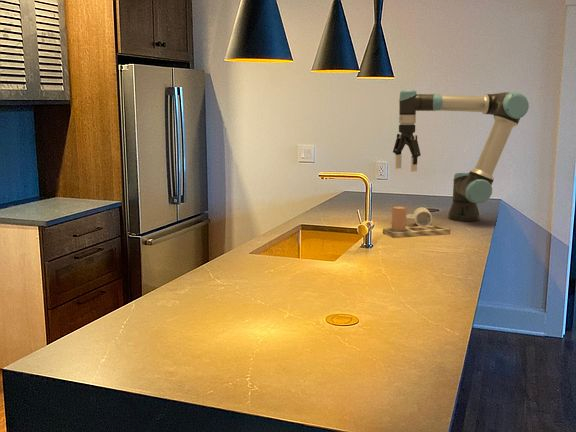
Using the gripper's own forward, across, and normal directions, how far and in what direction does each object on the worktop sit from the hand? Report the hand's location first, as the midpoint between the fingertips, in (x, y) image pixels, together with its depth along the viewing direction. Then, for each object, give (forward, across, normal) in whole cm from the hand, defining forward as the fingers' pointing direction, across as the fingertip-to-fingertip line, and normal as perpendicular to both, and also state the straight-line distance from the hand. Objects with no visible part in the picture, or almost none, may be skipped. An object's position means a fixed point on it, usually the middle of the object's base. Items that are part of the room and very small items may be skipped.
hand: (405, 169), depth 306 cm
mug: (+26, +5, +4) cm, 27 cm away
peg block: (+26, +20, -15) cm, 36 cm away
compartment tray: (+26, +20, -6) cm, 33 cm away
